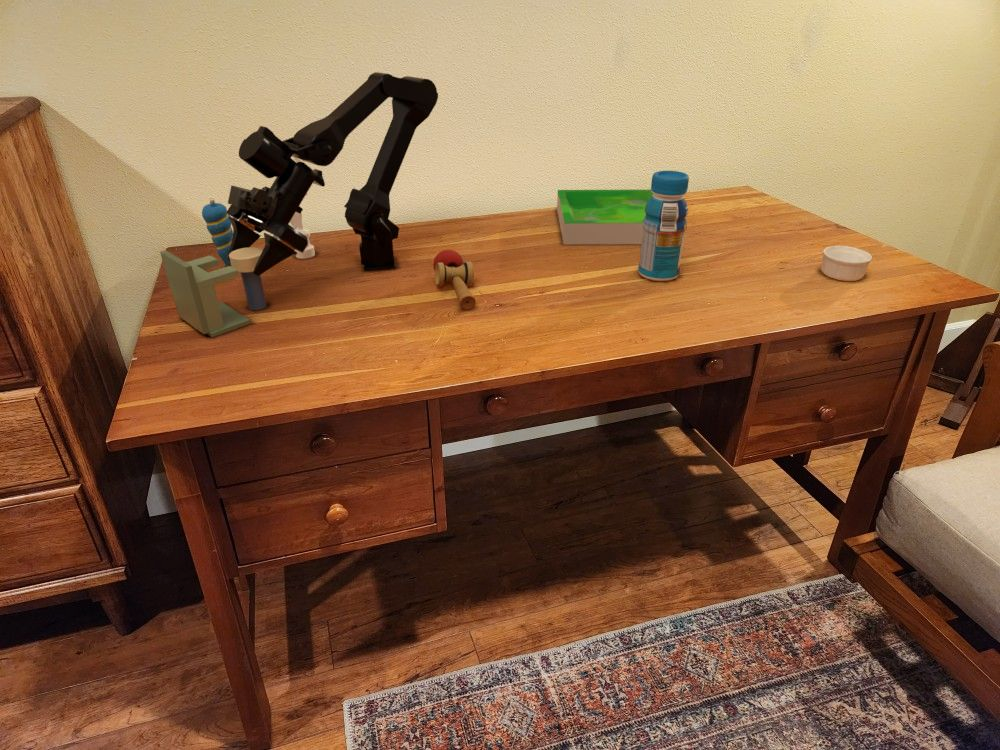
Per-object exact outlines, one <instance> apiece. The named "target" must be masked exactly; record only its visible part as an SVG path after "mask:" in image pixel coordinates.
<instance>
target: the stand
mask: <svg viewBox="0 0 1000 750" xmlns="http://www.w3.org/2000/svg"><path fill="white" fill-rule="evenodd" d="M159 254H160V257H161V260H162V264H163V267H164V271H165V274H166V277H167V281H168V284H169V285H168V286H169V288H170V292H171V295H172V298H173V302H174V305H175V309H176V312H177V315H178V317H179V318H180V319H181V320H183V321H184V322H186V323H187V324H188V325H190V326H192V327H193V328H194V329H195V330H197V331H198V332H200V333H201V334H202V335H207V336H209V337H210V338H215V337H218V336H220V335H224V334H226V333H229V332H232V331H235V330H237V329H240V328H243V327H246V326H248V325H251V324H252V322H251V319H250V318H248V317H247V316H245V315H243V314H242V313H240V312H239V311H237V310H236V309H234V308H233V307H231V306H229V305H227V304H226V303H224V302H223V301H219V300H218V297H217V296H218V295H217V292H216V287H215V285H217V284H219V283H223V282H226V281H229V280H234V279H236V278H239V277H240V275H239V272H238V270H236V269H234V268H233V267H231V266H228V267H227V266H225V267H222V268H218V269H214V270H212V271H206V270H209V269H212V268H215V267H219V266H220V263H219V260H218V258H216V257H214V256H213V255H212V254H211V255H207V256H204V257H200V258H196V259H192V260H190V261H185V260H183V259H181V258H179V257H178V256H176V255H175V254H172V253H171V252H169V251H168V250H161V251H159Z"/></svg>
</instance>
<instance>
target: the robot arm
mask: <svg viewBox="0 0 1000 750" xmlns="http://www.w3.org/2000/svg"><path fill="white" fill-rule="evenodd" d="M388 98H391V107H392V119H391V121H390V124H389V126H388V129H387V131H386V133H385V136H384V138H383V140H382V144H381V146H380V149H379V150H378V154H377V155H376V159H375V160H374V163H373V166H372V168H371V171H370V174H369V175H368V178H367V181H366V183H365V185H363V186H362V187H361V188H360V189H356V188H355V187H353V188H352V189H351V191H350V192H349V197H348V199H347V202H346V203H345V205H344V206H343V207H344V208H345V211H344V218H345V221H346V223H347V225H348V226H349V227H350V228H352V230H353V232H354V234H356V235H359V236H360V240H361V241H359V242H358V249H359V250H358V251H359V256H360V264H361V266H363V271H375V270H376V271H378V270H388V269H396V268H397V266H396V259H395V254H394V243H393V241H394V240H396V239H398V238H399V232H400V227H399V226H397V224H395V223H394V222H393V221H391V220H390V219H389V217H390V213H391V202H390V201H391V200H390V194H391V192H392V189H393V187H394V184H395V181H396V179H397V177H398V174H399V172H400V169H401V166H402V164H403V162H404V159H405V157H406V154H407V151H408V149H409V147H410V145H411V142H412V140H413V137H414V134H415V132H416V130H417V128H418V127H419V126H420V125H422V123H423V122H425V120H427V119H428V118H429V117H430V115H431V113H432V112H433V110H434V109H435V107H436V105H437V102H438V99H439V93H438V89H437V86H436V84H435V83H434V82H433V80H431V79H429V78H423V77H415V76H410V75H409V76H408V75H406V76H403V77H397V76H394V75H393V74H390V73H385V72H378V71H377V72H373V73H371V74H369V76H368V77H367V80H366V81H364V82H363V83H362V84H361V85H360V86H359V87H358V88H357V89H356V90H354V91H353V93H351V94H350V95H349V96H348V97H346V98H345V100H343V101H342V102H341V103H340V104H339V105H338V106H337V107H336V108H335V109H333V110H332V111H331V113H329V114H328V115H326V116H324V117H323V118H320V119H318V120H316V121H315V120H314V121H313V122H310V123H308V124H307V125H305V126H304V127H302V128H301V129H298V130H297V131H296V133H294V135H293V137H292V136H291V137H289V138H287V139H284V140H281V139H280V138H279V137H278V136H276V134H275V133H274V131H272V130H271V129H270V128H268V127H267V126H264V125H259V127H258V128H257V130H255V131H253V132H252V133H250V134H249V135H248V136H247V137H246V138H244V139H243V140H242V142H241V144H240V146H239V149H238V157H239V159H241V160H242V161H243V162H245V163H246V164H247V165H249V166H250V167H251V168H253V169H254V170H256V171H257V172H258V173H259V174H261V175H262V176H264V177H265V178H267V179H273V178H275V179H274V180H273V182H272V184H271V186H270V187H268V186H266V185H264V187H262V188H257V187H255V186H254V187H252V188H251V189H249V188H245V187H240V186H236V185H230V190H229V195H228V199H227V204H228V205H229V208H228V209H227V212H226V213H227V214H229V215H230V216H231V217H229V220H230V221H231V228H232V230H233V236H232V241H231V246H230V250H229V254H230V253H231V252H233V251H235V250H237V249H241V248H248V247H252V245H254V243H256V242H257V241H258V240H259V239H260V238H261V236H262V235H260V234H259V233H262V232H263V237H264V238H263V239H264V246H263V249H262V250H263V251H262V253H261V255H260V257H259V259H258V261H257V263H256V266H255V268H254V271H253V274H255V275H257V276H259V275H262V274H264V273H265V272H267V271H268V270H271V269H272V268H273V267H275V266H276V265H278V264H279V263H282V262H283V261H285V260H287V259H288V258H290V257H293V256H296V254H297V252H296V251H295V250H297V251H300V252H302V253H303V252H304V250H305V248H306V247H307V245H308V240H307V237H306V236H305V235H303V234H302V233H300V232H299V231H298V230H297V229H295V228H294V227H293V226H292V225H291V224H290V221H291V219H292V217H293V216H294V214H295V212H297V213H300V214H302V212H303V210H304V208H303V207H301V206H300V205H301V204H302V202H303V201H304V199H305V197H306V194H307V195H308V193H309V191H310V189H311V188H312V186H313V185H317V186H320V187H325V186H326V183H325V179H324V177H323V171H322V170H321V169H317V168H313V169H312V167H310V166H309V165H307V164H306V163H308V164H312V165H316V166H319V167H327V166H329V165H331V164H332V163H334V161H335V160H336V158H337V157H338V156H339V155H340V153H341V152H342V151H343V149H344V145H345V141H346V140H347V138H348V137H349V135H350V134H352V132H353V131H354V130H355V129H357V128H358V127H359V126H360V125H361V124H362V123H363V122H364V121H365V120H366V119H367V118H368V117H369V116H371V114H372V113H373V112H375V111H376V110H377V109H378V108H379V107H380V106H381V105H382V104H383V103H384V102H386V101H387V100H388ZM292 157H293V158H292ZM294 157H296V158H299V159H301V160H302V161H303V162H296V160H295V159H294ZM266 232H267V233H266ZM268 233H269V234H268ZM228 260H229V261H230V258H229V255H228Z"/></svg>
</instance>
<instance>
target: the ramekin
mask: <svg viewBox="0 0 1000 750" xmlns="http://www.w3.org/2000/svg"><path fill="white" fill-rule="evenodd" d="M872 260H873V256H872V255H871V254H870V253H869V252H868V251H866V250H864V249H861V248H859V247H854V246H847V245H829V246H827V247H825V248H824V249H823V250H822V261H821V265H820V270H821V272H822V274H823V275H824V276H826V277H828V278H831V279H833V280H838V281H843V282H855V281H860V280H861V279H864V277H865V274H866V272H867V269H868V267H869V265H870V263H871V261H872Z"/></svg>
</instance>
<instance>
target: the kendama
mask: <svg viewBox="0 0 1000 750" xmlns="http://www.w3.org/2000/svg"><path fill="white" fill-rule="evenodd" d="M432 263H433V264H432V266H433V269H434V281H435V284H436V285H437V286H440V287H441V286H444V285H445V284H446V283H447V282H452V284H453V288H454V292H455V294H456V297H457V300H458V303H459V306H460V308H461V309H463V310H466V311H469V310H471V309H473V308H474V307H475V305H476V298H475V296H474V295H473V293H471V291H470V289H469V287H472V286H473V284H474V281H475V269H474V264H473V262H472V261H464V259H463V256H462V255H461V254H460V253H459V252H457V251H456V250H452V249H444V250H441V251H440V252H438V253H437V254H436V255H435V257H434V259H433V262H432Z"/></svg>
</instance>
